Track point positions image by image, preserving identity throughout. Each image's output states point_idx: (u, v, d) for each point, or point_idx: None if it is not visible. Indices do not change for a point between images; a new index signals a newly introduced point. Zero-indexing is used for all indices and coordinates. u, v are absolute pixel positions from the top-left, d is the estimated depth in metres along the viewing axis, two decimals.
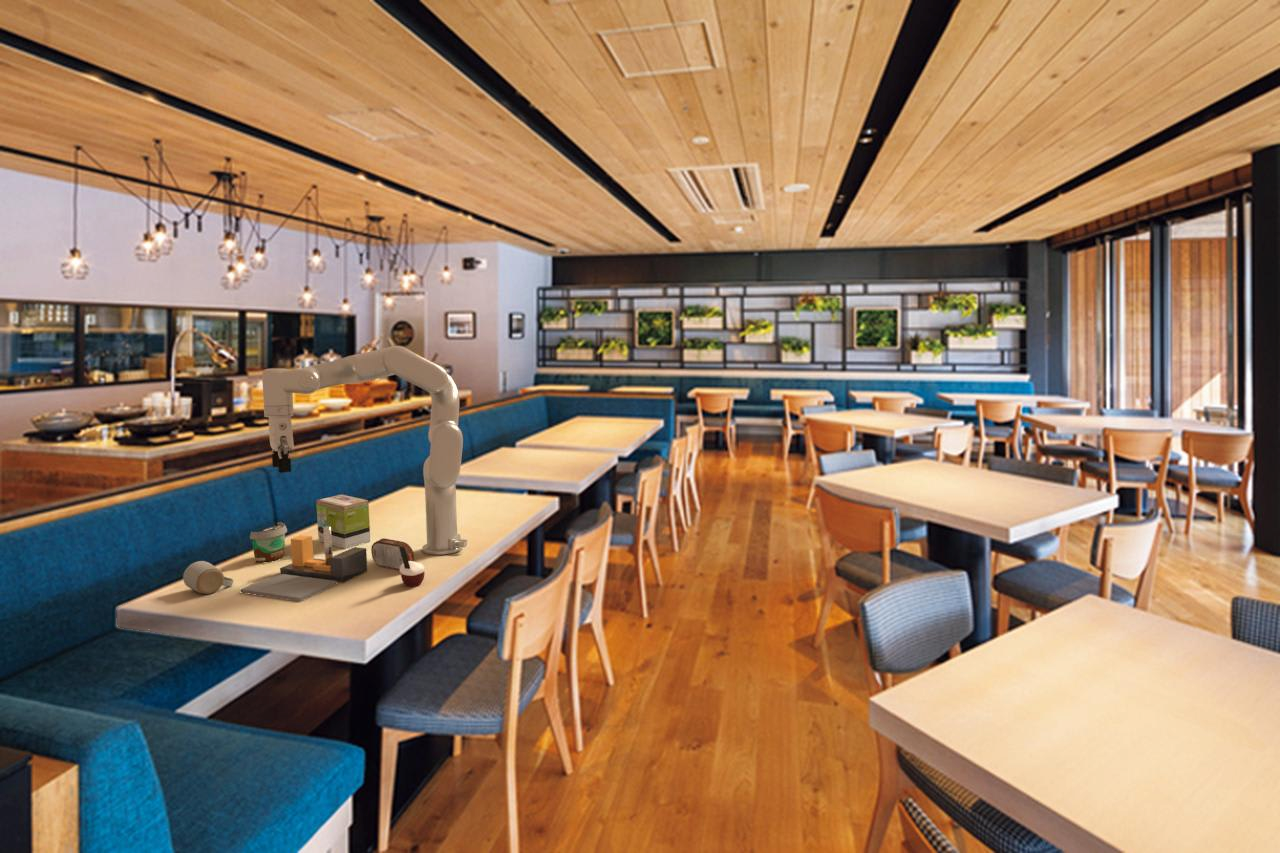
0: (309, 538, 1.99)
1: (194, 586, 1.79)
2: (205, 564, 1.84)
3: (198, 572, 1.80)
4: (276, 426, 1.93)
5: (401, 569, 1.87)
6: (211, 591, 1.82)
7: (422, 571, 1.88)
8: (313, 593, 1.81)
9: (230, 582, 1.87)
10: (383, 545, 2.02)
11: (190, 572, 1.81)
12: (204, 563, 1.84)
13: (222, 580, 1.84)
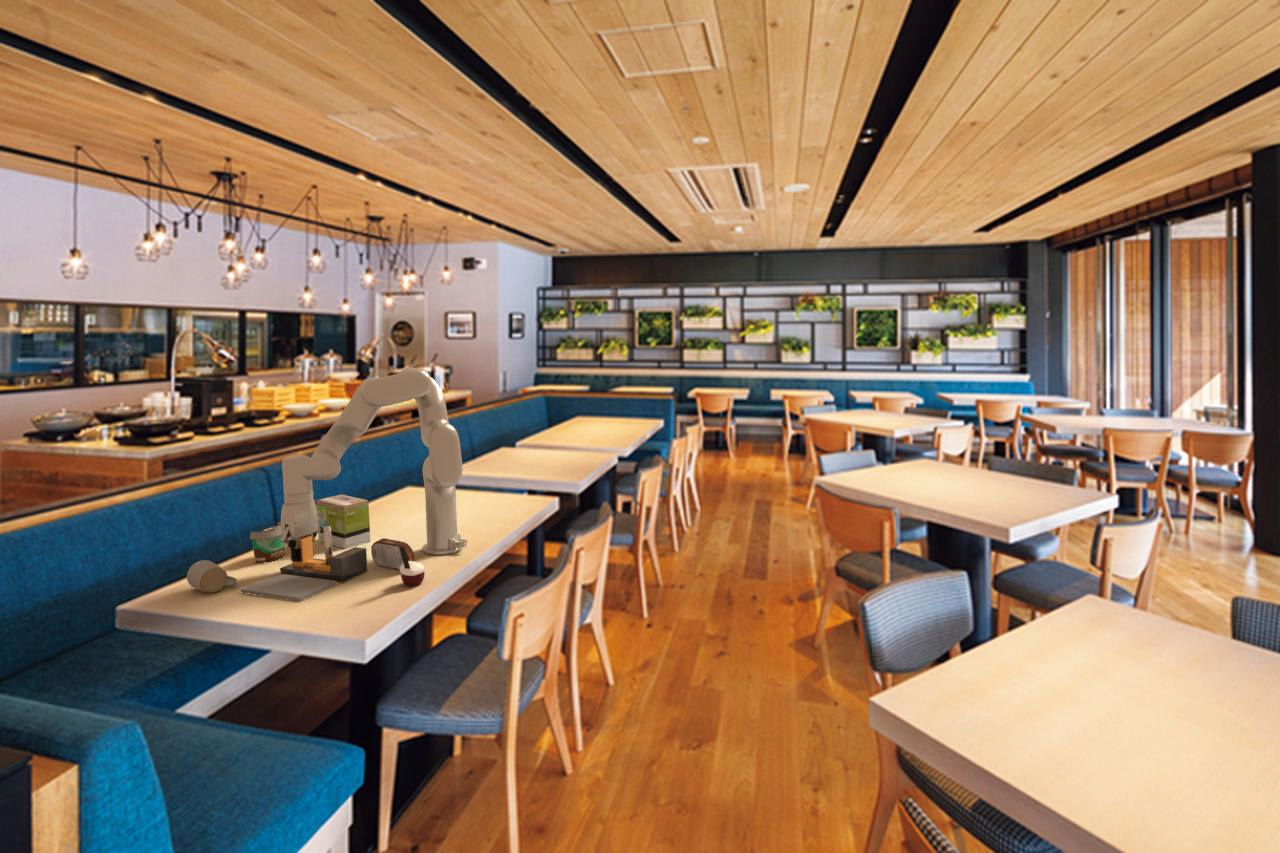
0: (309, 538, 1.99)
1: (198, 585, 1.80)
2: (209, 563, 1.84)
3: (202, 571, 1.81)
4: None
5: (401, 569, 1.87)
6: (215, 590, 1.82)
7: (422, 571, 1.88)
8: (313, 593, 1.81)
9: (233, 581, 1.87)
10: (383, 545, 2.02)
11: (194, 571, 1.82)
12: (208, 562, 1.85)
13: (225, 579, 1.84)
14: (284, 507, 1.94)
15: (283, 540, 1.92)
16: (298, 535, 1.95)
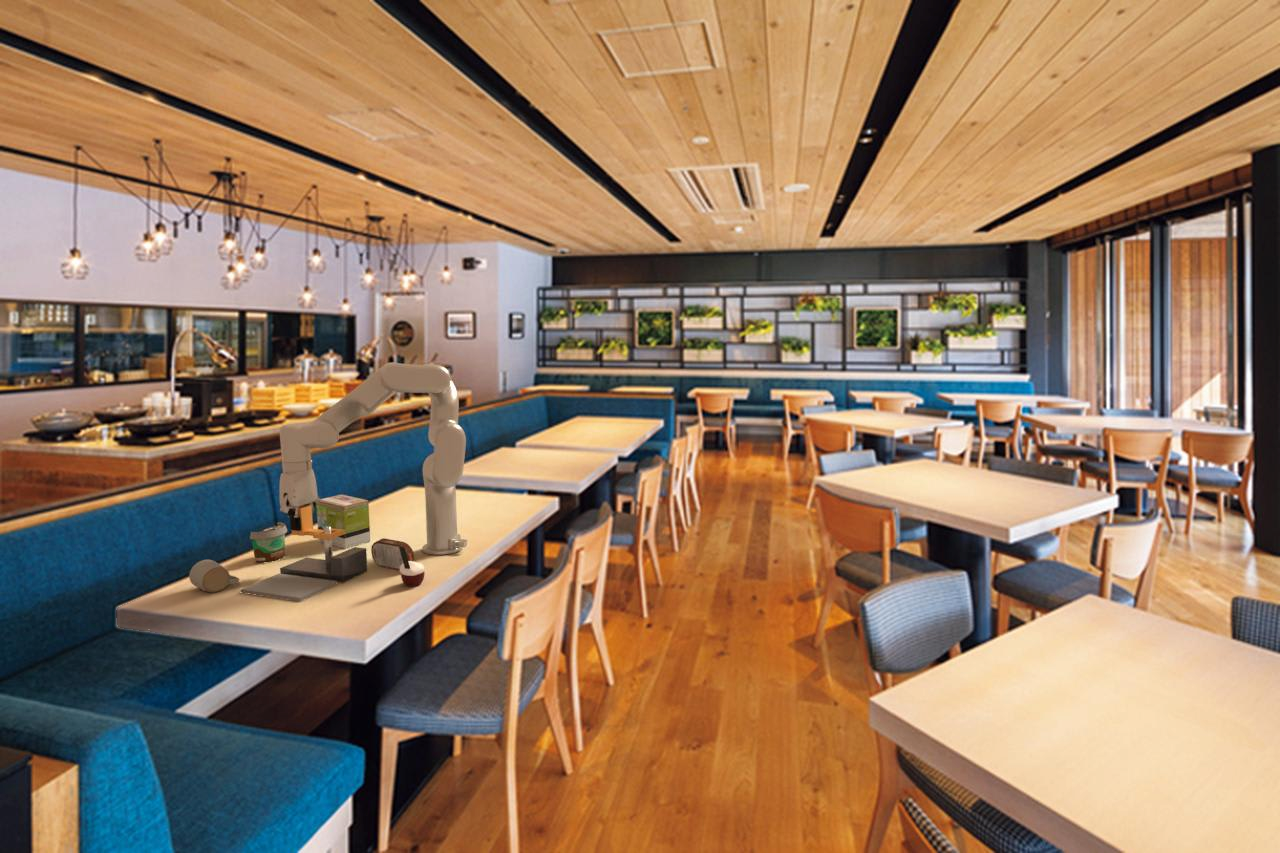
0: (308, 507, 1.98)
1: (200, 584, 1.81)
2: (211, 563, 1.85)
3: (204, 570, 1.81)
4: None
5: (401, 569, 1.87)
6: (217, 589, 1.83)
7: (422, 571, 1.88)
8: (313, 593, 1.81)
9: (236, 580, 1.88)
10: (383, 545, 2.02)
11: (196, 571, 1.82)
12: (210, 562, 1.85)
13: (228, 578, 1.85)
14: (283, 476, 1.93)
15: (282, 508, 1.91)
16: (297, 504, 1.94)
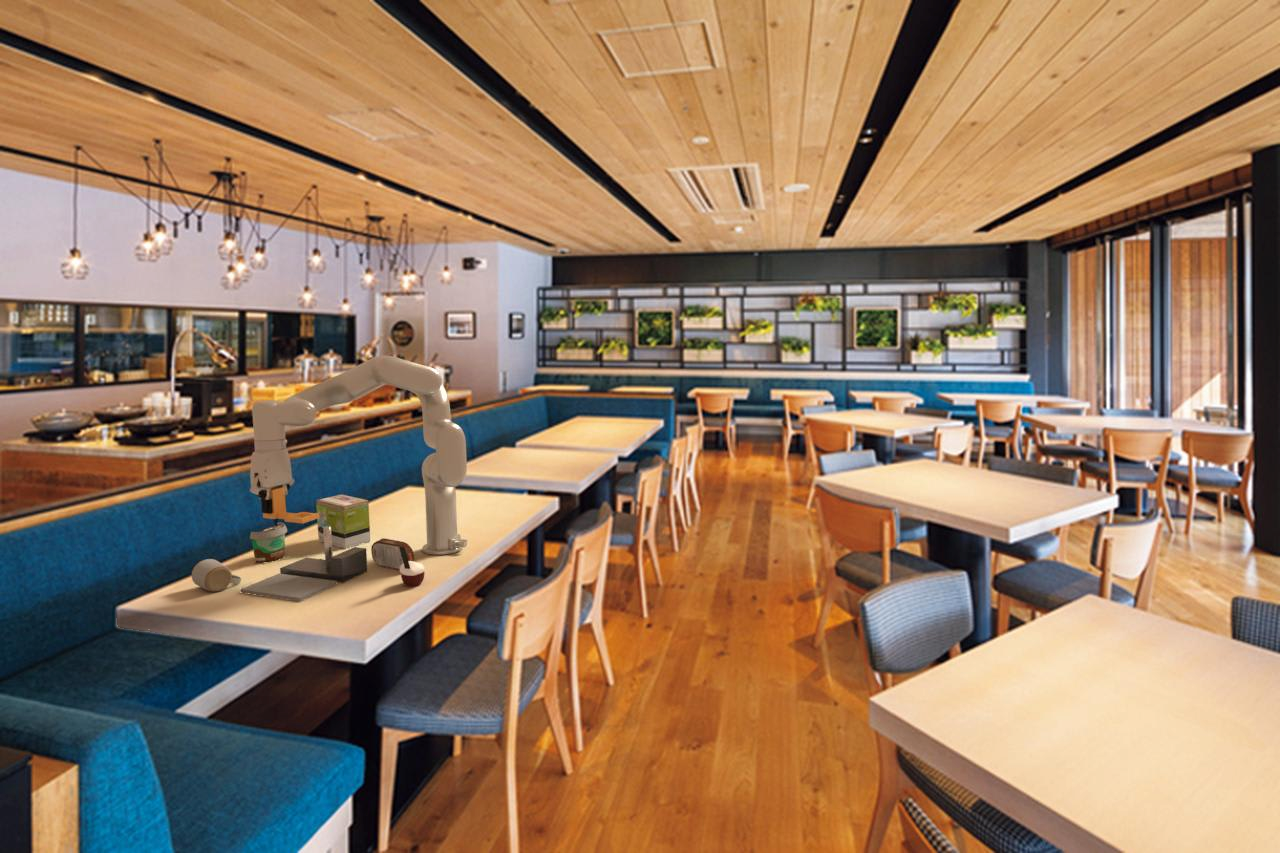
0: (281, 489, 1.88)
1: (202, 584, 1.81)
2: (213, 562, 1.85)
3: (207, 570, 1.82)
4: None
5: (401, 569, 1.87)
6: (219, 589, 1.83)
7: (422, 571, 1.88)
8: (313, 593, 1.81)
9: (238, 580, 1.88)
10: (383, 545, 2.02)
11: (198, 570, 1.83)
12: (212, 561, 1.86)
13: (230, 578, 1.85)
14: (254, 454, 1.82)
15: (252, 489, 1.81)
16: (269, 485, 1.83)
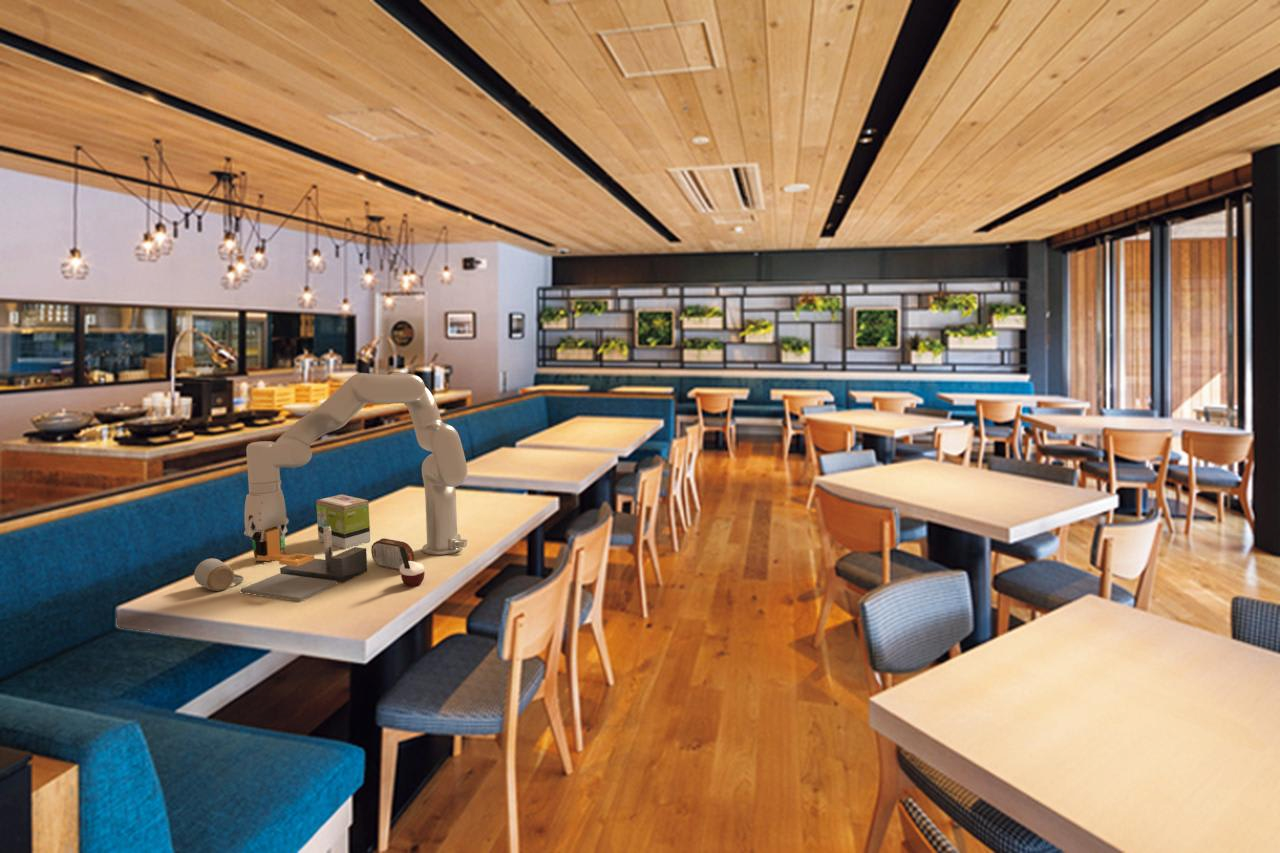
0: (276, 531, 1.86)
1: (205, 583, 1.82)
2: (216, 561, 1.86)
3: (209, 569, 1.82)
4: None
5: (401, 569, 1.87)
6: (222, 588, 1.84)
7: (422, 571, 1.88)
8: (313, 593, 1.81)
9: (240, 579, 1.89)
10: (383, 545, 2.02)
11: (201, 569, 1.83)
12: (215, 560, 1.86)
13: (232, 577, 1.86)
14: (248, 497, 1.80)
15: (246, 532, 1.79)
16: (263, 527, 1.82)
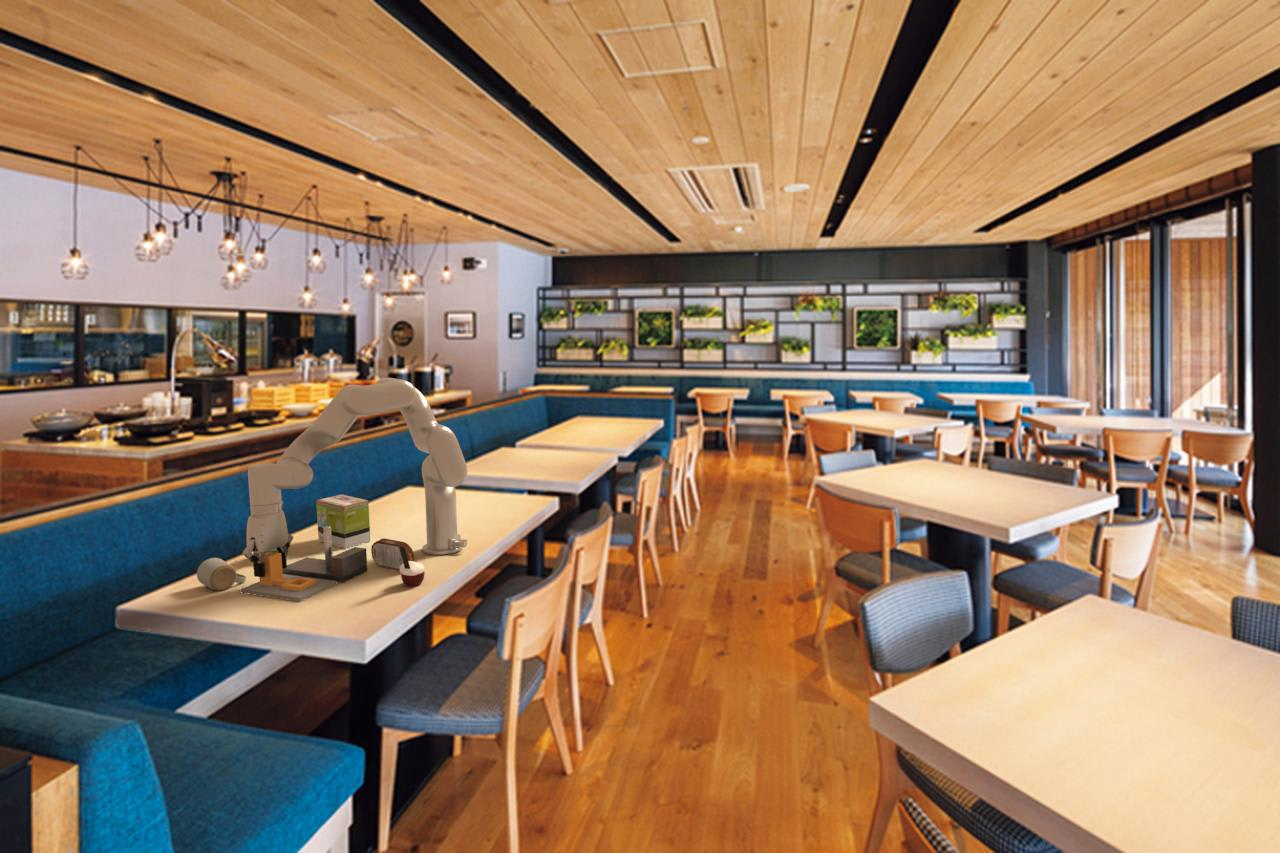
0: (278, 555, 1.87)
1: (208, 582, 1.82)
2: (218, 561, 1.86)
3: (212, 568, 1.83)
4: None
5: (401, 569, 1.87)
6: (224, 587, 1.84)
7: (422, 571, 1.88)
8: (313, 593, 1.81)
9: (243, 579, 1.89)
10: (383, 545, 2.02)
11: (204, 569, 1.84)
12: (217, 560, 1.87)
13: (235, 577, 1.86)
14: (250, 519, 1.81)
15: (245, 552, 1.79)
16: (265, 549, 1.83)
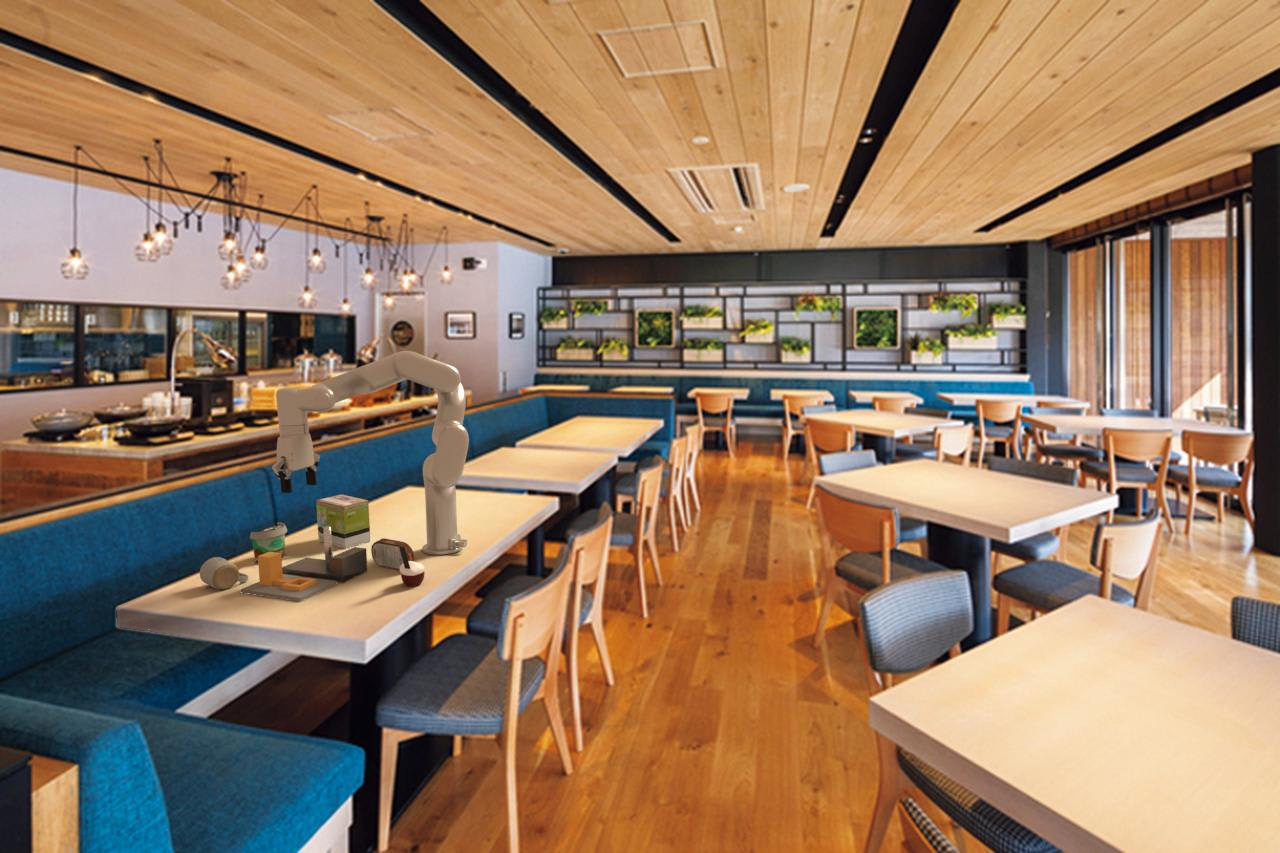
0: (278, 555, 1.87)
1: (210, 582, 1.83)
2: (221, 560, 1.87)
3: (214, 568, 1.83)
4: None
5: (401, 569, 1.87)
6: (227, 587, 1.85)
7: (422, 571, 1.88)
8: (313, 593, 1.81)
9: (245, 578, 1.90)
10: (383, 545, 2.02)
11: (206, 568, 1.85)
12: (220, 559, 1.87)
13: (237, 576, 1.87)
14: (280, 439, 1.92)
15: (275, 465, 1.89)
16: (295, 467, 1.93)
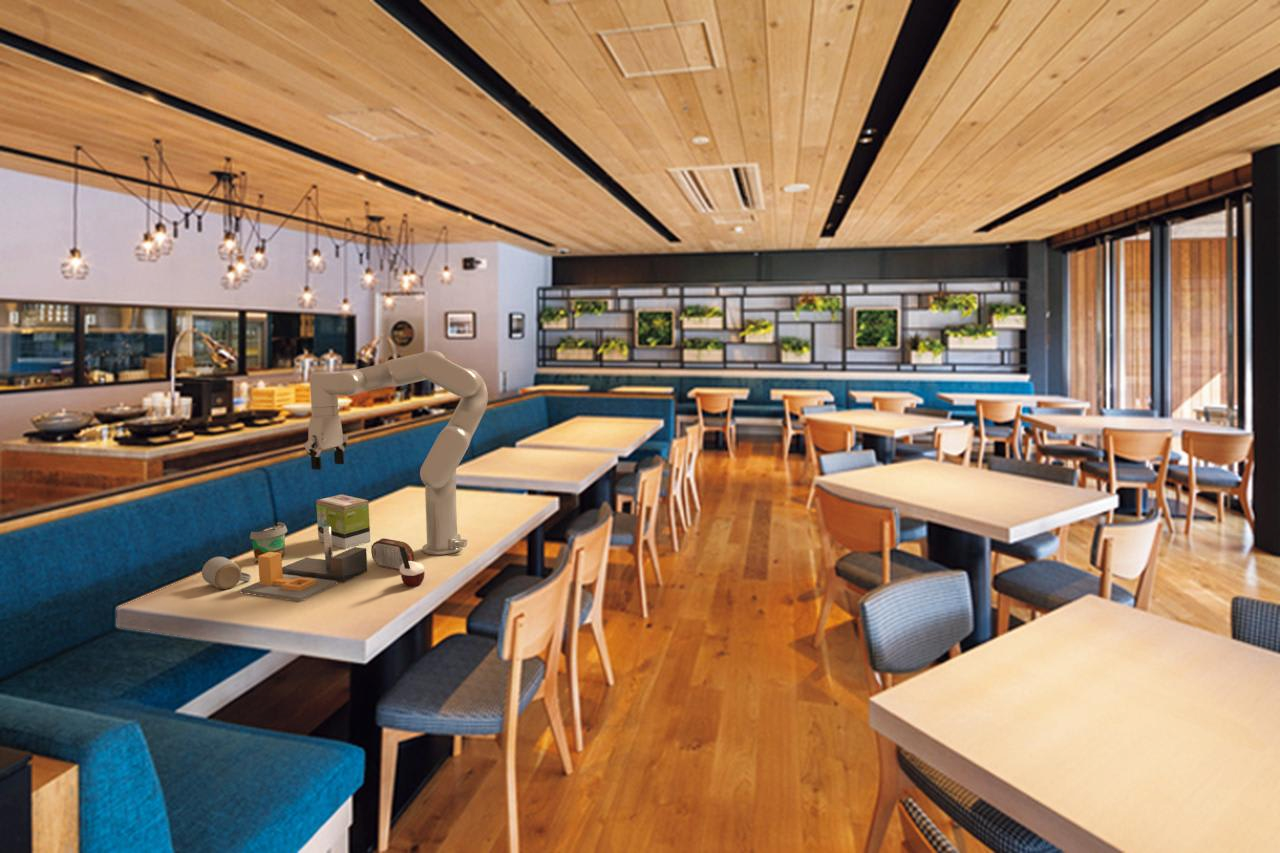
0: (278, 555, 1.87)
1: (212, 581, 1.83)
2: (223, 560, 1.87)
3: (217, 567, 1.84)
4: None
5: (401, 569, 1.87)
6: (229, 586, 1.85)
7: (422, 571, 1.88)
8: (313, 593, 1.81)
9: (247, 577, 1.90)
10: (383, 545, 2.02)
11: (209, 567, 1.85)
12: (222, 559, 1.88)
13: (240, 575, 1.87)
14: (312, 419, 2.06)
15: (307, 443, 2.03)
16: (325, 446, 2.07)
